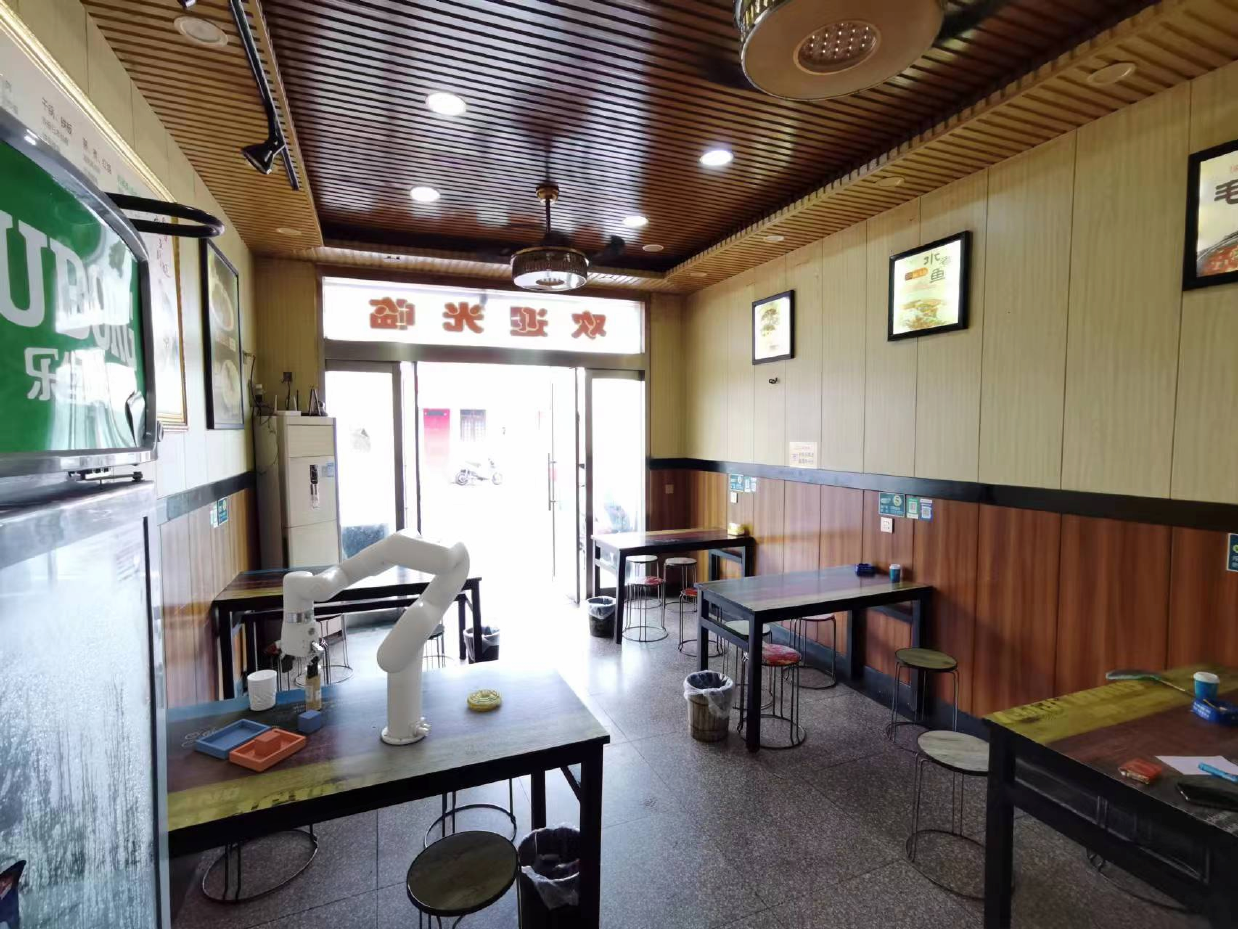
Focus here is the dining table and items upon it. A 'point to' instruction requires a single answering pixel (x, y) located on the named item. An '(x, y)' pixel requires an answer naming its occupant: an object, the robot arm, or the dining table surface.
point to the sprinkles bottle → (313, 691)
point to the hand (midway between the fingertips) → (299, 674)
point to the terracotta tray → (251, 760)
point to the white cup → (262, 689)
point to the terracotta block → (267, 743)
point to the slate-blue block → (309, 721)
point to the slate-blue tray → (230, 738)
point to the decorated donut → (484, 700)
